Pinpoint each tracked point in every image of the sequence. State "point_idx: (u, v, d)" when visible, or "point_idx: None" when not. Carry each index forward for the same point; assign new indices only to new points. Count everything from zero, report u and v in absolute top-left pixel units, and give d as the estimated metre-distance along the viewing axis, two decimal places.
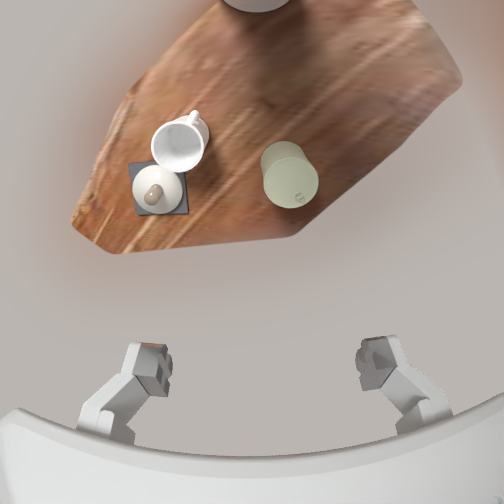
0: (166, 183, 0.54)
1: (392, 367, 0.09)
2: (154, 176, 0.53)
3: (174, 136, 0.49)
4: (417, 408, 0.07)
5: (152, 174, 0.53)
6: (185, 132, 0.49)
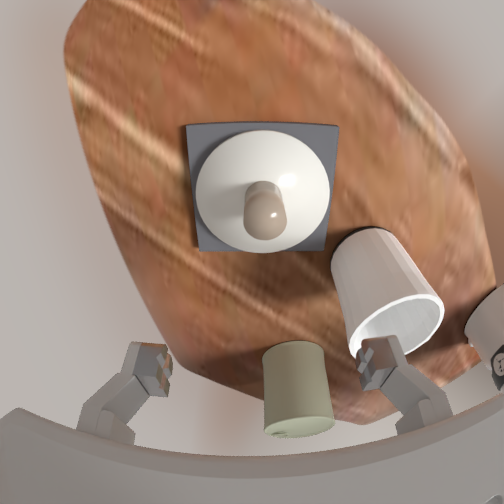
0: None
1: (392, 367, 0.09)
2: (302, 197, 0.22)
3: None
4: (417, 408, 0.07)
5: (308, 193, 0.22)
6: None
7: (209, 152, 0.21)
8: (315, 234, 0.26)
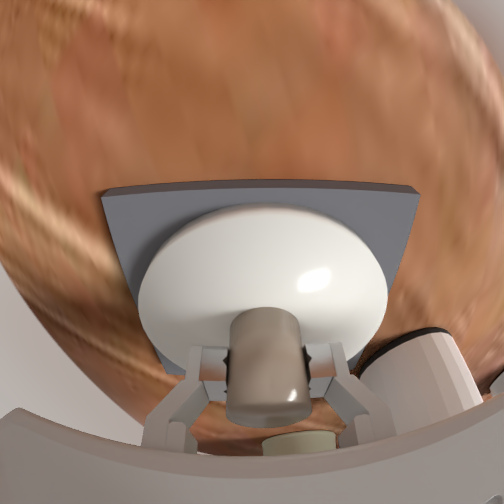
0: None
1: (330, 376, 0.09)
2: (336, 326, 0.12)
3: None
4: (353, 423, 0.07)
5: (348, 319, 0.12)
6: None
7: (154, 248, 0.10)
8: None
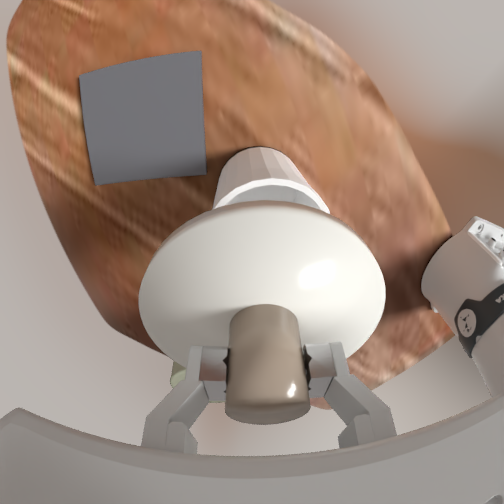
0: None
1: (330, 376, 0.09)
2: (335, 323, 0.12)
3: None
4: (353, 423, 0.07)
5: (346, 317, 0.12)
6: None
7: (95, 93, 0.20)
8: (194, 156, 0.25)
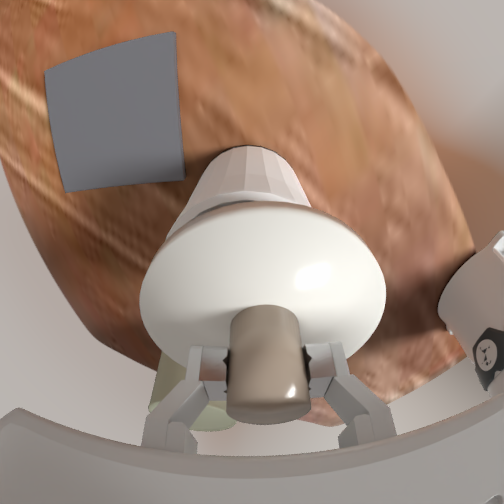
0: None
1: (330, 376, 0.09)
2: (335, 323, 0.12)
3: None
4: (353, 423, 0.07)
5: (347, 317, 0.12)
6: None
7: (60, 89, 0.16)
8: (168, 158, 0.20)
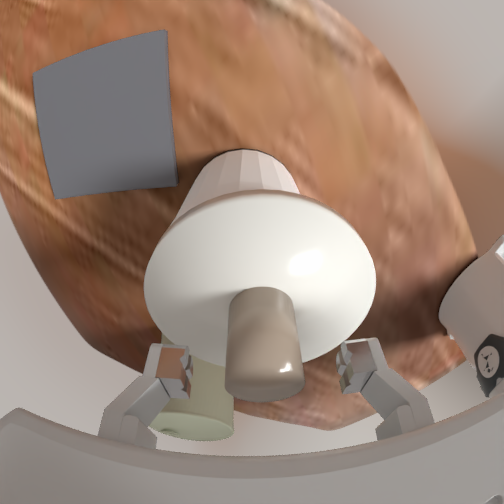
0: None
1: (371, 371, 0.09)
2: (328, 307, 0.13)
3: None
4: (395, 414, 0.07)
5: (339, 300, 0.13)
6: None
7: (48, 92, 0.14)
8: (160, 163, 0.19)
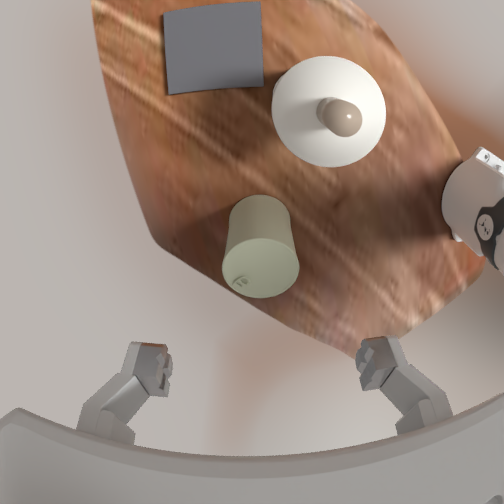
0: (346, 137, 0.24)
1: (392, 367, 0.09)
2: (364, 114, 0.22)
3: None
4: (417, 408, 0.07)
5: (369, 111, 0.22)
6: None
7: (177, 25, 0.24)
8: (254, 72, 0.29)
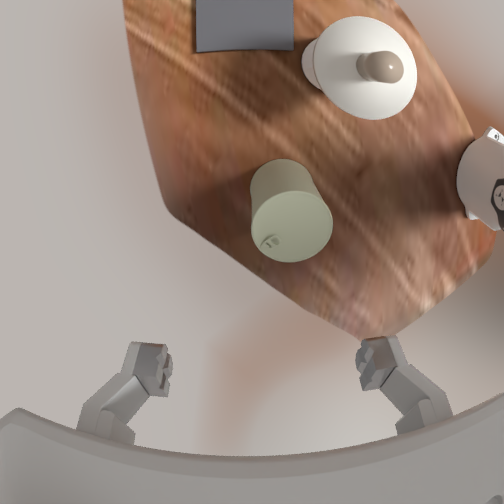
0: (383, 91, 0.21)
1: (392, 367, 0.09)
2: None
3: None
4: (417, 408, 0.07)
5: None
6: None
7: None
8: (285, 36, 0.26)
